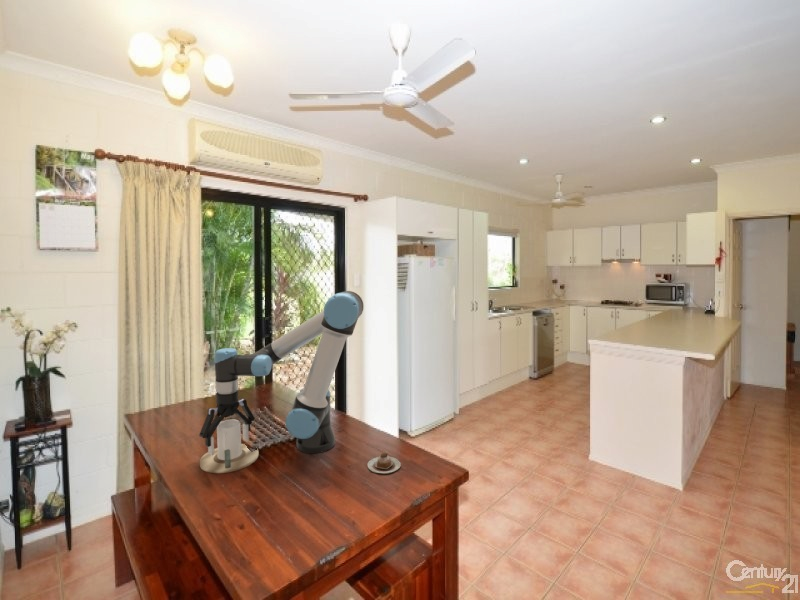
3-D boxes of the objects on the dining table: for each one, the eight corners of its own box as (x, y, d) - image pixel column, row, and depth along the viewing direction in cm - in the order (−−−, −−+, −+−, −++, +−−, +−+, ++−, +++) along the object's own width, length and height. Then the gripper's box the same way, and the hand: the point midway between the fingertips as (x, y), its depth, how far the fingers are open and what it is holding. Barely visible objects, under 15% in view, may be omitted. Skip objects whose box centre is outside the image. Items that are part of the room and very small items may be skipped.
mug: (234, 464, 139) (233, 432, 138) (209, 465, 139) (208, 432, 138) (245, 449, 151) (244, 418, 150) (222, 449, 150) (221, 419, 149)
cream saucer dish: (267, 448, 155) (267, 430, 154) (242, 474, 135) (241, 454, 134) (219, 445, 157) (218, 428, 156) (187, 471, 137) (186, 451, 136)
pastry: (407, 465, 143) (407, 452, 143) (387, 479, 133) (387, 466, 133) (380, 456, 150) (380, 444, 149) (360, 469, 140) (360, 457, 139)
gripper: (251, 381, 156) (253, 432, 157) (187, 398, 136) (189, 457, 137) (263, 384, 151) (264, 437, 153) (198, 402, 131) (200, 463, 133)
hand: (229, 447), depth 145 cm, fingers open, 13 cm apart
